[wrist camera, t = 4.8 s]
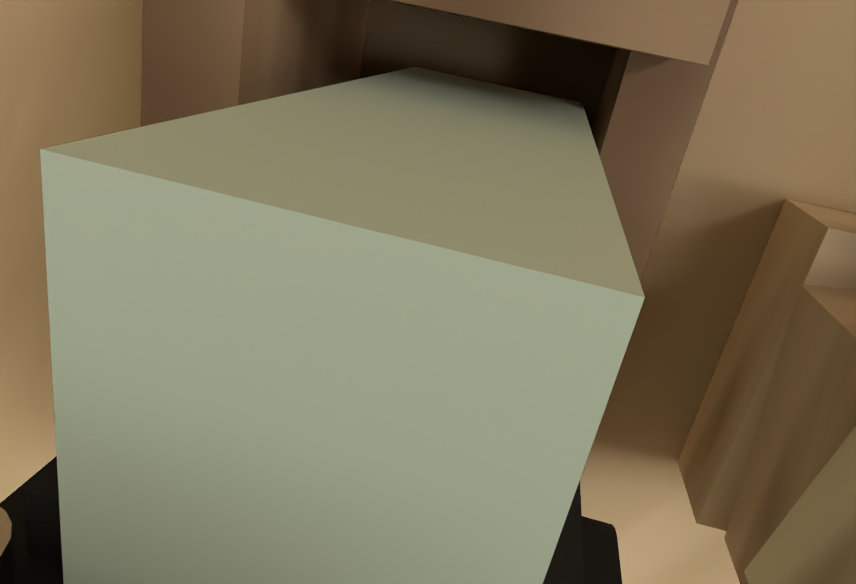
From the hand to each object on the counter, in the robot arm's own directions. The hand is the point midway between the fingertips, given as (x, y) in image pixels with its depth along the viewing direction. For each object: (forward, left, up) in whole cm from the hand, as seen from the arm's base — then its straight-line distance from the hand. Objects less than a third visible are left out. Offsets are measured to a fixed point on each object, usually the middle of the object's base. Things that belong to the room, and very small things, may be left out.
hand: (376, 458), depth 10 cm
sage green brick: (0, 0, -8) cm, 8 cm away
